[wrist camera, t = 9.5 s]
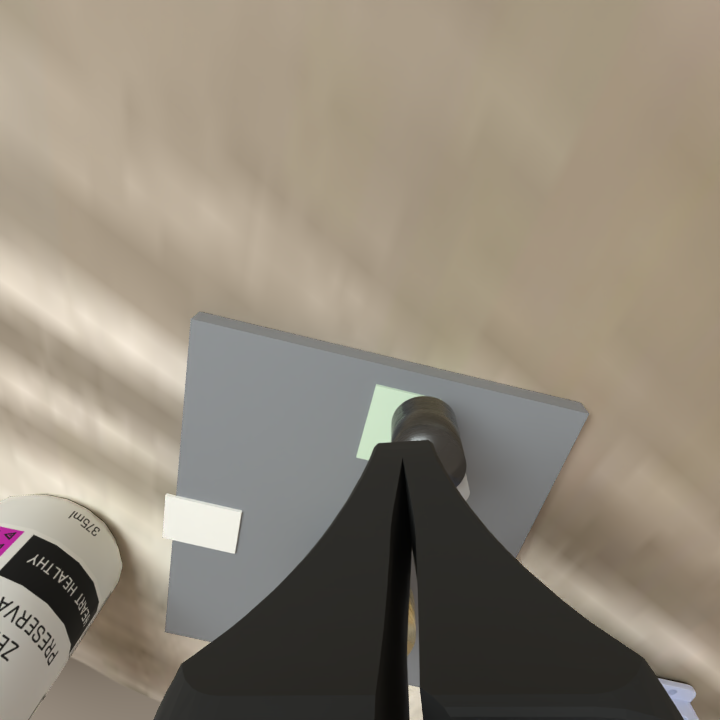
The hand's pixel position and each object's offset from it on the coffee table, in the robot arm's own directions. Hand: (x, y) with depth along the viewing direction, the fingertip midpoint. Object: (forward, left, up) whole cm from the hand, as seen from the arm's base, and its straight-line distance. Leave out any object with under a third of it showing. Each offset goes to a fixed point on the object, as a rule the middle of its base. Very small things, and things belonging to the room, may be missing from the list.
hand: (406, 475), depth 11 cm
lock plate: (0, +12, -10) cm, 16 cm away
